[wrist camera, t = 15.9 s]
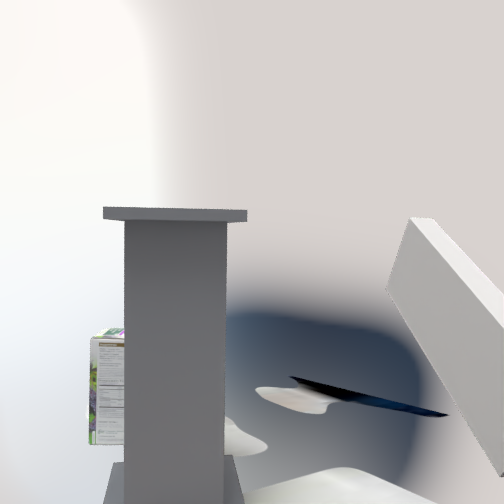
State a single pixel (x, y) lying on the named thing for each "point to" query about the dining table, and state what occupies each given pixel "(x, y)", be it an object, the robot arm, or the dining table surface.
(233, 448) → the dining table surface
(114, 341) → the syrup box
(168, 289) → the gray pedestal stand
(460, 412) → the robot arm
